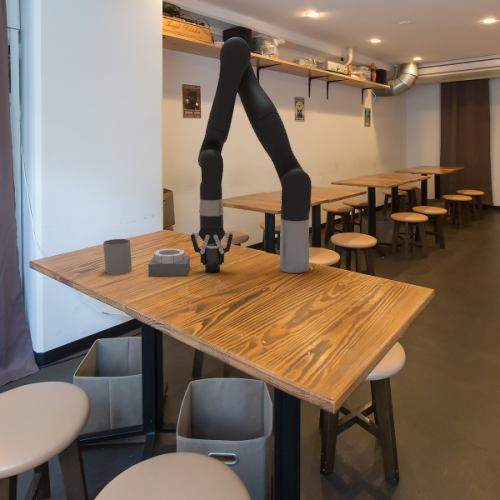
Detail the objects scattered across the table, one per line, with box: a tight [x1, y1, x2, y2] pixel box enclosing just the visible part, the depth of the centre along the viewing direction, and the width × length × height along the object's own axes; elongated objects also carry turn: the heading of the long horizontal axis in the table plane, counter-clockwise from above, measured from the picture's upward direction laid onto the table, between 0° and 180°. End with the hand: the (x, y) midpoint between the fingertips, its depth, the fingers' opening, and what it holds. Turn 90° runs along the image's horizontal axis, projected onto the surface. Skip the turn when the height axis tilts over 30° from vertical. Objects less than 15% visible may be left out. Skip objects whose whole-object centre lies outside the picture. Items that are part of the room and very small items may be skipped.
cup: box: [102, 238, 133, 276], centre depth 141 cm, size 8×8×10 cm
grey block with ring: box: [147, 248, 191, 277], centre depth 141 cm, size 12×10×6 cm
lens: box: [204, 244, 221, 274], centre depth 142 cm, size 5×5×9 cm
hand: (212, 263), depth 142 cm, fingers closed on lens, 5 cm apart
